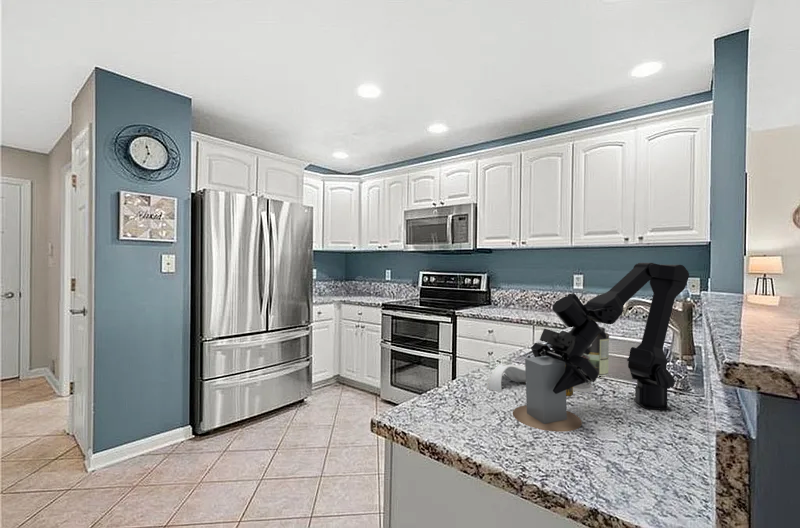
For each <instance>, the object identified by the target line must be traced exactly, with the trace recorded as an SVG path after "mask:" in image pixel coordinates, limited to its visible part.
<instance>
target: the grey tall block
mask: <svg viewBox="0 0 800 528" xmlns="http://www.w3.org/2000/svg"><path fill="white" fill-rule="evenodd" d="M524 364H525V365H524V366H525V371H526V383H525V397H526V403H525V404H526V405H527V414H529V415H530V416H532V417H534V418H535V419H537V420H538V421H540V422H542V423H543V424H546V423H551V422H556V421H561V420H566V419H567V411H568V409H567V396H566V390H564V391H562V392H560V393H557V394H555V393H554V392H553V389H554V387H555V385H556V384H557V383H558V381H559V380H560V378H561V377H562V375H563V374H564V372H565V362H563V361H561V360H558V359H555V358H552V357H549V356H540V357H533V356H532V357H526V358H524Z"/></svg>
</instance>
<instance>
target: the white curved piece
mask: <svg viewBox="0 0 800 528" xmlns="http://www.w3.org/2000/svg"><path fill="white" fill-rule="evenodd" d="M504 374H505V377H507V378H508V379H509V380H510V381H511V380H512V382H514V381H515V382H514V383H519V382H526V371H525V365H517V364H503V363H500V364H498V365H496V366H495V368H494V369H493V370H492V372H491V373H490V376H489V379H488V382H487V385H486V387H487V388H486V389H487V390H490V391H494V392H498V393H502V391H503V390H502V379H503V375H504Z"/></svg>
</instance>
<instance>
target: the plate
mask: <svg viewBox="0 0 800 528" xmlns="http://www.w3.org/2000/svg"><path fill="white" fill-rule="evenodd" d="M512 416H513V417H514V418H515V420H517V422H519V423H522V425H525V426H528V427H531V428H533V429H537V430H542V431H548V432H558V433H559V432H562V433H563V432H572V431H575V430H578V429H580V428H581V426H582V425H583V424H582V423H583V422H582V419H581V418H580V417H579V416H577V415H576V414H575V413H573V412H571V411H569V410H567V419H566V420H561V421H556V422H551V423H546V424H543V423H542V422H540V421H538V420H537V419H535V418H534V417H532V416H530V415H529V414H527V404H526V405H520V406H518V407H516V408H515V409H513V411H512Z"/></svg>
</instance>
